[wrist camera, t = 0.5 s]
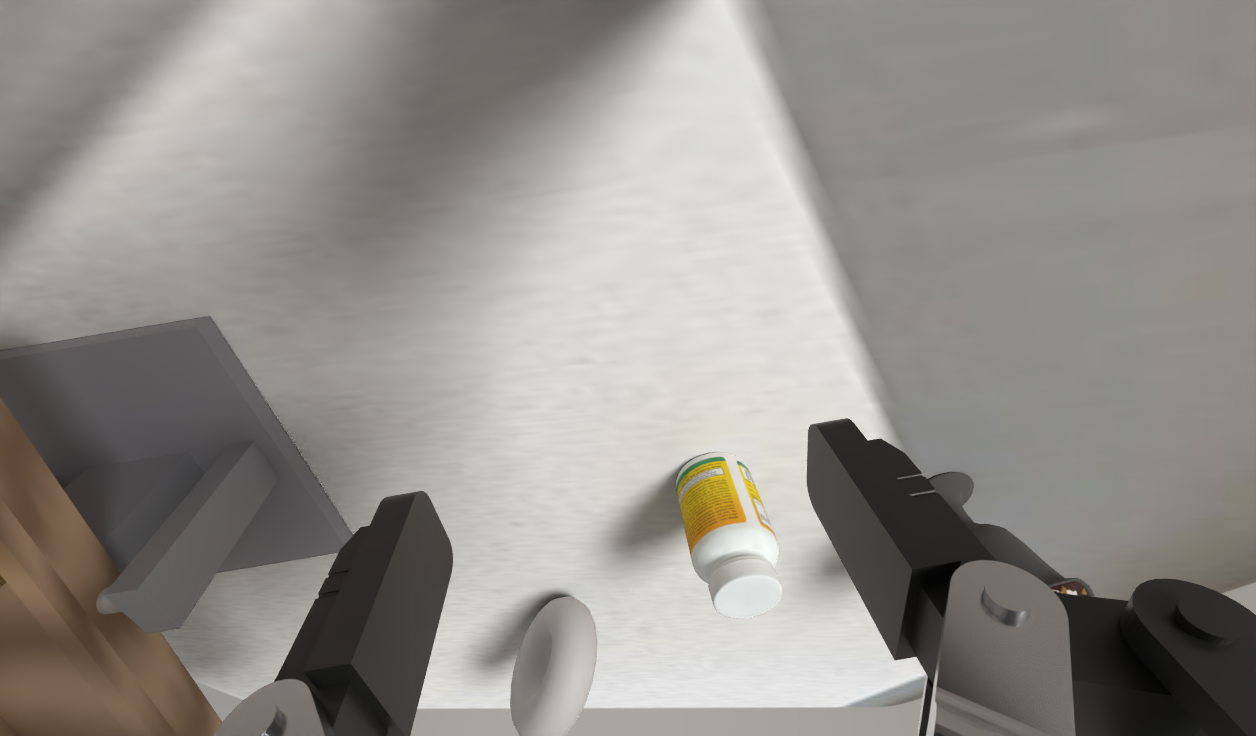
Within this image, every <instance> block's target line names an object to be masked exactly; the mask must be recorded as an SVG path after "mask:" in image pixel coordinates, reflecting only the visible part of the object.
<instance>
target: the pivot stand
mask: <svg viewBox="0 0 1256 736" xmlns="http://www.w3.org/2000/svg"><path fill="white" fill-rule="evenodd" d="M0 398H1V399H2V401H3V402H4V404H5V405H6V407H7V408H8V409H9V411H10V412H11V414H12V415H13V417H14V418H15V420H16V421H17V423H18V424H19V426H20V427H21V428H22V430H23V431H24V433H25V434H26V436H27V437H28V439H29V440H30V442H31V443H32V445H33V446H34V447H35V449H36V450H37V452H38V453H39V455H40V456H41V458H42V459H43V461H44V462H45V464H46V465H47V467H48V468H49V469H50V471H51V472H52V474H53V475H54V477H55V478H56V480H57V481H58V483H59V484H60V486H61V487H62V488H63V490H64V491H65V493H66V494H67V496H68V497H69V499H70V500H71V502H72V503H73V505H74V506H75V507H76V509H77V510H78V512H79V513H80V515H81V516H82V518H83V519H84V521H85V522H86V524H87V525H88V526H89V528H90V529H91V531H92V532H93V534H94V535H95V537H96V538H97V540H98V541H99V543H100V544H101V545H102V547H103V548H104V550H105V551H106V553H107V554H108V556H109V557H110V559H111V560H112V562H113V563H114V565H115V566H116V567H117V569H118V570H119V572H120V573H121V574H120V576H119V577H118V578H117V579H116V580H115V581H114V583H113V584H112V585H111V586H110V587H109V589H108V590H107V591H106V592H105V593H104V595H103V596H104V597H105V598H107V599H108V600H109V601H110V602H111V603H112V604H114V605H115V606H116V607H117V608H118V609H120V610H121V611H122V612H123V613H124V614H125V615H127V616H128V617H129V618H130V619H131V620H132V621H134V622H135V623H136V624H137V625H138V626H139V627H141V628H142V629H143V630H144V631H145V632H146V633H154V632H160V631H166V630H172V629H178V628H180V627H181V626H182V624H183V623H184V621H185V620H186V618H187V617H188V615H189V614H190V612H191V611H192V609H193V608H194V606H195V604H196V603H197V601H198V600H199V598H200V597H201V595H202V594H203V592H204V591H205V589H206V588H207V586H208V585H209V583H210V582H211V580H212V579H213V577H214V576H215V574H216V573H219V572H225V571H231V570H237V569H243V568H249V567H255V566H261V565H267V564H273V563H279V562H285V561H291V560H297V559H303V558H309V557H315V556H321V555H327V554H333V553H339V551H340V549H341V548H342V547H343V546H344V545H345V544H346V543H347V542H348V541H349V540H350V538H351V537H352V536H353V534H352V533H351V531H350V530H349V528H348V527H347V525H346V524H345V522H344V521H343V519H342V517H341V516H340V514H339V513H338V511H337V510H336V508H335V507H334V505H333V504H332V502H331V501H330V499H329V498H328V496H327V495H326V493H325V491H324V490H323V488H322V487H321V485H320V484H319V482H318V481H317V479H316V478H315V476H314V475H313V473H312V472H311V470H310V468H309V467H308V465H307V464H306V462H305V461H304V459H303V458H302V456H301V455H300V453H299V452H298V450H297V449H296V447H295V445H294V444H293V442H292V441H291V439H290V438H289V436H288V435H287V433H286V432H285V430H284V429H283V427H282V426H281V424H280V423H279V421H278V419H277V418H276V416H275V415H274V413H273V412H272V410H271V409H270V407H269V406H268V404H267V403H266V401H265V400H264V398H263V396H262V395H261V393H260V392H259V390H258V389H257V387H256V386H255V384H254V383H253V381H252V380H251V378H250V377H249V375H248V373H247V372H246V370H245V369H244V367H243V366H242V364H241V363H240V361H239V360H238V358H237V357H236V355H235V354H234V352H233V350H232V349H231V347H230V346H229V344H228V343H227V341H226V340H225V338H224V337H223V335H222V334H221V332H220V331H219V329H218V328H217V326H216V324H215V323H214V321H213V320H212V318H211V317H210V316H208V317H202V318H196V319H190V320H183V321H177V322H171V323H165V324H159V325H153V326H147V327H141V328H135V329H129V330H123V331H117V332H111V333H105V334H99V335H93V336H87V337H81V338H75V339H69V340H63V341H57V342H51V343H45V344H39V345H33V346H27V347H21V348H14V349H8V350H2V351H0Z"/></svg>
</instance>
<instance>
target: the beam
mask: <svg viewBox="0 0 1256 736" xmlns="http://www.w3.org/2000/svg"><path fill="white" fill-rule="evenodd" d="M0 574H1V576H2V577H3V578H4V579H5V581H6V582H7V583H5V584H4V585H3V586H1V587H0V736H214V734H215V733H216V731H217V729H218V728H219V726H220V725H221V724H222V721H221V720H220V718H219V717H218V715H217V714H216V712H215V711H214V709H213V708H212V706H211V705H210V703H209V702H208V701H207V699H206V698H205V696H204V695H203V693H202V692H201V690H200V689H199V687H198V686H197V684H196V683H195V682H194V680H193V679H192V677H191V676H190V674H189V673H188V671H187V670H186V668H185V667H184V665H183V664H182V663H181V661H180V660H179V658H178V657H177V655H176V654H175V652H174V651H173V649H172V648H171V646H170V645H169V643H168V642H167V641H166V639H165V638H164V636H163V635H162V633H161V632H154V633H146V632H145V631H144V630H143V629H142V628H141V627H139V626H138V625H137V624H136V623H135V622H134V621H132V620H131V619H130V618H129V617H128V616H127V615H125V614H124V613H123V612H122V611H121V610H120V609H118V608H117V607H116V606H115V605H114V604H112V603H111V602H110V601H109V600H108V599H107V598H105V597H104V596H103V595H104V593H105V592H106V591H107V590H108V589H109V587H110V586H111V585H112V584H113V583H114V581H115V580H116V579H117V578H118V577H119V576H120V574H121V573H120V572H119V570H118V569H117V567H116V566H115V565H114V563H113V562H112V560H111V559H110V557H109V556H108V554H107V553H106V551H105V550H104V548H103V547H102V545H101V544H100V543H99V541H98V540H97V538H96V537H95V535H94V534H93V532H92V531H91V529H90V528H89V526H88V525H87V524H86V522H85V521H84V519H83V518H82V516H81V515H80V513H79V512H78V510H77V509H76V507H75V506H74V505H73V503H72V502H71V500H70V499H69V497H68V496H67V494H66V493H65V491H64V490H63V488H62V487H61V486H60V484H59V483H58V481H57V480H56V478H55V477H54V475H53V474H52V472H51V471H50V469H49V468H48V467H47V465H46V464H45V462H44V461H43V459H42V458H41V456H40V455H39V453H38V452H37V450H36V449H35V447H34V446H33V445H32V443H31V442H30V440H29V439H28V437H27V436H26V434H25V433H24V431H23V430H22V428H21V427H20V426H19V424H18V423H17V421H16V420H15V418H14V417H13V415H12V414H11V412H10V411H9V409H8V408H7V407H6V405H5V404H4V402H3V401H2V399H1V398H0Z"/></svg>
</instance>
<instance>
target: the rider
mask: <svg viewBox="0 0 1256 736" xmlns="http://www.w3.org/2000/svg"><path fill="white" fill-rule="evenodd" d="M5 583H7V582H6V581H5V579H4V578H3V577H2V576H1V574H0V587H1V586H3V585H4V584H5Z"/></svg>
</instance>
